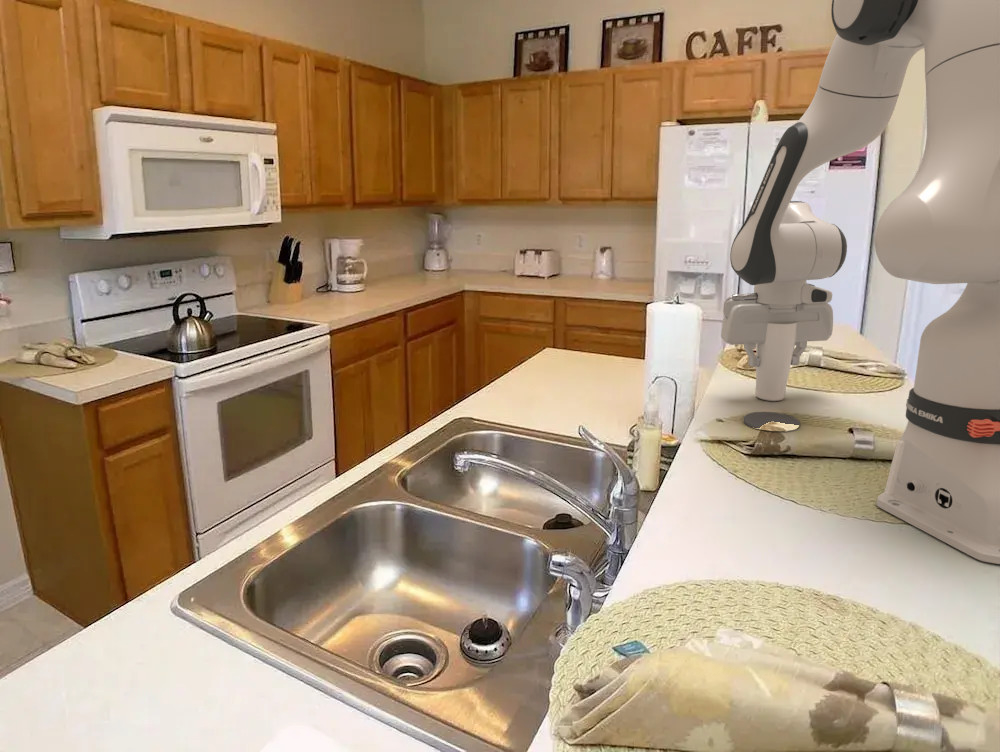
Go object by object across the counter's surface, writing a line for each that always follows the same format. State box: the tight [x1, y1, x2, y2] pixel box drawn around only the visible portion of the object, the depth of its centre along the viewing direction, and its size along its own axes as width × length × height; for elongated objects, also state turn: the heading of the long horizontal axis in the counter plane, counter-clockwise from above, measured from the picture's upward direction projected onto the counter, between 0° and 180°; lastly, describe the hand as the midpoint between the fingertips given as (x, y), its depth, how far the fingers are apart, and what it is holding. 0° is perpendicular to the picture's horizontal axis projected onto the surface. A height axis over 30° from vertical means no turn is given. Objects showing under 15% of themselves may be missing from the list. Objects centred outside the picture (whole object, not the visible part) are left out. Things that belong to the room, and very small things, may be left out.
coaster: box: [743, 411, 801, 429], centre depth 118 cm, size 9×9×1 cm
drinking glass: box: [754, 322, 797, 402], centre depth 129 cm, size 7×7×15 cm
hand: (773, 365), depth 130 cm, fingers open, 6 cm apart
